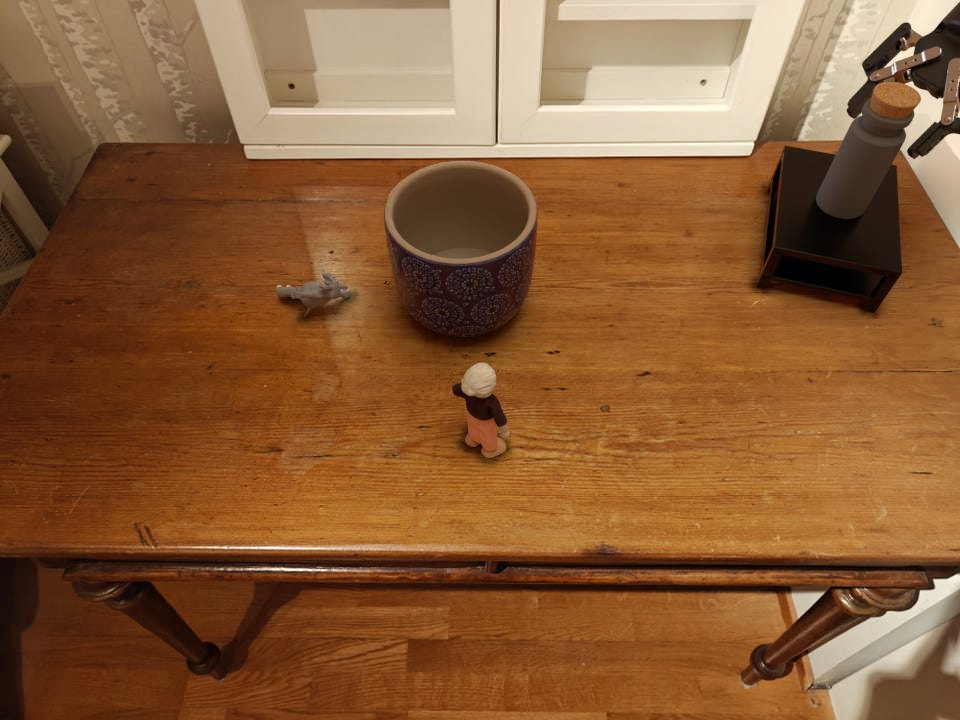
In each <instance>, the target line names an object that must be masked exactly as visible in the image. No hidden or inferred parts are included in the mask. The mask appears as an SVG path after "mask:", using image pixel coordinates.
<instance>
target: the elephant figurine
mask: <svg viewBox="0 0 960 720" xmlns="http://www.w3.org/2000/svg"><path fill="white" fill-rule="evenodd" d="M324 271H325V270H324V269H322V270H321V271H320V273H319V279H320V280H321V282H318V281H308V282H304V283H303V284H302V285H301V287H299V286H298V285H294V286H292V285H290V284H286V286H283V285H281V284H277V285H276V288H275V293H276V296H277V297H278V298H288V297H289V298H291V300H294V299H296V300H297V299H299V300H300V301H301V303H302V304H303V305H304V306H305V307H306V312H305V313H304V315H303V317H302V318H303V319H305V318H306V316H307V315H308V314H309V313H310V312H311V310H313V309H314V308H320V307H323V306H325V305H326V304H328V303H330V302H331V301H332V300H337V299H339V298H343V299H347V298H351V296H353V292H352V290H348V288H349V286H348V285H346V284H341V283H339V280H337V278H336V277H335V276H334V275H333V274H332V273H331V272H332V269H330V270H329V271H328V272H325V273H324ZM322 283H323V284H324V285H323V284H322Z"/></svg>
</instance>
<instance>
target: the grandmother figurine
mask: <svg viewBox="0 0 960 720" xmlns="http://www.w3.org/2000/svg"><path fill="white" fill-rule="evenodd" d="M460 379H461V382H458V383H454V384H453V385H452V386H451V390H449V397H450V398H451V399H454V400H457V399H459V398H461V399H464V401H465V409H466V423H467V429H468V430H467V431H468V433H467V434H466V436H465V438H464V443H465V444H466V445H468V446H469V447H471V448H474V447H478V446H479V445H481V446H482V447H481V450H480V452H481V454H482V456H483V457H484V458H486V459H492V458H495V457H497V456H499V455H501V454H503V453H505V451H506V450H507V444H506V441H505V440H507V439H509V438H510V437H511V431H510V429H509V424H508V417H507V416H506V414H505V412H504V411H503V408H502V404H501V402H500V400H499V398H498V397H497V396H496V394H494V391H495V388H496V385H497V374H496V371H495V369H493V368H492V367H491V366H490V365H489V363H487V362H477V363H475V364H473V365H472V366H470V367H469V368H468V369H467V370H466V371H465V373H464V375H463V378H460ZM497 430H498V431H499V437H498V431H497Z"/></svg>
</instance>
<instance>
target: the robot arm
mask: <svg viewBox="0 0 960 720" xmlns="http://www.w3.org/2000/svg"><path fill="white" fill-rule="evenodd" d="M911 48H914V49H913V55H911V56H908V57H905V58H902V59H899V60H897V61H894V62H893V63H892V64H891V65H889V66H887V65H888V64H889V63H891V61H892V60H894V58H896V57H897V56H898V55H899V54H900V52H906V51H907V50H909V49H911ZM861 66H862V69H863V71H864V74H865V76H866V77H867V78H866V79H867V80H866V81H865V83H864V84H863V85H862V86H860V88H859V89H857V91H856V92H855V93H854V94H853V95H852V96H851V98H849V100H848V102H847V103H846V104H847V108H846V113H847V115H848V117H850V118H851V119H853V120H854V119H856V118H857V117H859V116H861V115H862V108H863V106H864V104H865V102H866V101H867V100H868V99H870V98H872V94H873V90H874V88H875V86H876V85H878V84H880V83H883V82H899V83H903V84H906V85H907V84H908V83H911V82H912V83H913V86H914V87H916V88H918V89H919V90H923V91H927V92H928V93H929V94H930V96H931V97H933V98H934V99H936V100H939V99H942V109H941V113H940V114H941V115H940V120H939V121H938V122H937V121H934V122H933V123H932V124H931V125H929V127H927V129H925V131H923V133H921V135H920V136H919V137H918V138H916V139H915V141H913V142H912V143H911V145H909V147H908V149H907V150H906V152H907V155H908V156H909V157H910V158H911V159H913V160H916V159H918V157H921V158H923V157H926V156H927V155H929V154H930V153H931V152H932V151H933V150H934V149H935V148H936V147H937V146H938V145H939V144H940V143H941V142H942V141H943V140H944V139H945V138H946V137H947V136H948V135H949V136H950V135H953V134H955V135H960V117H959V114H960V1H958V2H957V4H955V6H954V7H953V8H951V10H950V11H949V12H948V13H946V15H945V16H944V17H943V19H941V21H940V22H939V23H938V24H937V26H936V27H935V28H934V29H932V31H930V32H929V33H927V34H926V35H921V34H920V33H918V32H917V31H915V30H913V29H912V25H911V23H910V22H906V21H905V22H902V23H901V24H900V25H898V26H897V28H895V29H894V31H892V32H891V33H890V34H889V35H888V36H887V37H886V38H885V39H884V40H883V41H882V42H881V43H880V44H879V45H878V46H877V47H876V48H875V49H874V50H873V51H872V52H871V53H870V54H869V55H867V57H866V58H865V59H864V60H863V61H862V63H861Z"/></svg>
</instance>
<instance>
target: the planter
mask: <svg viewBox="0 0 960 720" xmlns="http://www.w3.org/2000/svg"><path fill="white" fill-rule="evenodd" d="M383 208H384V209H383V221H384V223H383V224H384V232H385V240H386V247H387V253H388V258H389V263H390V269H391V273H392V274H391V275H392V278H393V282H394V285H395V288H396V291H397V294H398V297H399V300H400V301H401V303H402V305H403V306H404V308H405V310H406V311H407V313H408V314H409V315H410V316H411V317H412V318H413V319H414V320H415V321H416V322H418V323H419V324H420V325H422V326H423V327H425V328H427V329H429V330H431V331H432V332H435V333H438V334H440V335H444V336H447V337H453V338H469V337H470V338H471V337H478V336H482V335H485V334H488V333H491V332H494V331H495V330H497V329H500V328H501V327H503V326H504V325H505V324H507V323H508V322H509V321H511V319H513V318H514V317H515V316H516V315H517V313H518V312H519V311H520V310H521V308H522V307H523V305H524V303H525V301H526V300H527V299H526V298H527V297H528V295H529V291H530V288H531V283H532V280H533V273H534V268H535V261H536V260H535V259H536V250H537V240H538V224H539V217H538V215H539V213H538V204H537V200H536V197H535V196H534V193H533V192H532V190H531V189H530V188H529V186H528V185H527V184H526V183H525V182H524V181H523V180H522V179H521V178H519V177H518V176H517V175H515V174H514V173H512V172H511V171H508V170H506V169H504V168H502V167H500V166H498V165H497V166H496V165H493V164H490V163H486V162H480V161H473V160H453V161H452V160H451V161H444V162H443V161H442V162H439V163H435V164H431V165H427V166H424V167H422V168H420V169H418V170H416V171H414V172H412V173H410V174H409V175H407V176H406V177H404V178H403V179H402V180H401V181H400V182H399V183H398V184H397V185H396V186H394V188H393V189H392V190H391V191H390V193H389V194H388V196H387V199H386V201H385V205H384V207H383Z"/></svg>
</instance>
